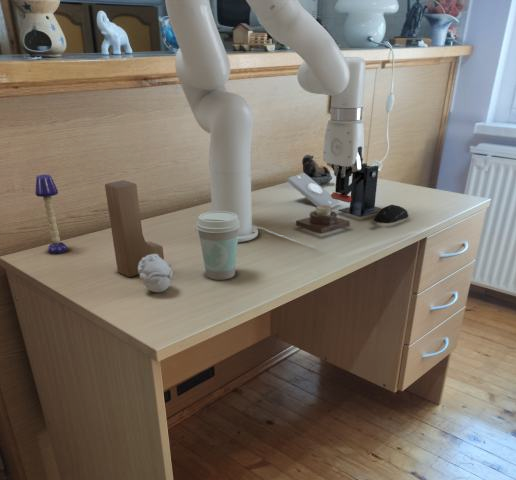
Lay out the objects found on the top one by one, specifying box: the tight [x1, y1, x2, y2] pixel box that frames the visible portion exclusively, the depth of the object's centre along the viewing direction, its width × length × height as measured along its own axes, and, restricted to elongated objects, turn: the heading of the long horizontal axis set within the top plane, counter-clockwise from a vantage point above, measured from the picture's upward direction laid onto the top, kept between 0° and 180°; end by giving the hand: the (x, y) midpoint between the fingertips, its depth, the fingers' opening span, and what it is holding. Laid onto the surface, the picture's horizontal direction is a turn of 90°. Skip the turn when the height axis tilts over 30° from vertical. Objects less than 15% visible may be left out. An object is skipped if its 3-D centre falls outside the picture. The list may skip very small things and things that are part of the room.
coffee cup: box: [195, 211, 240, 281], centre depth 105 cm, size 8×9×12 cm
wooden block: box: [104, 179, 165, 278], centre depth 107 cm, size 9×4×18 cm, turn 135°
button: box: [315, 205, 332, 216], centre depth 131 cm, size 4×4×2 cm
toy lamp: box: [34, 174, 69, 255], centre depth 118 cm, size 5×5×17 cm
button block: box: [295, 210, 351, 235], centre depth 133 cm, size 10×9×4 cm
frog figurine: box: [138, 254, 174, 293], centre depth 100 cm, size 6×7×7 cm
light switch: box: [286, 172, 341, 207], centre depth 153 cm, size 8×6×14 cm
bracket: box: [338, 162, 383, 218], centre depth 142 cm, size 10×8×13 cm
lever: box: [330, 164, 371, 204], centre depth 139 cm, size 12×6×2 cm, turn 130°
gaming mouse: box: [373, 204, 409, 224], centre depth 138 cm, size 6×15×4 cm, turn 138°
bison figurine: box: [301, 154, 333, 186], centre depth 172 cm, size 12×7×10 cm, turn 130°
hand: (341, 191), depth 137 cm, fingers closed
